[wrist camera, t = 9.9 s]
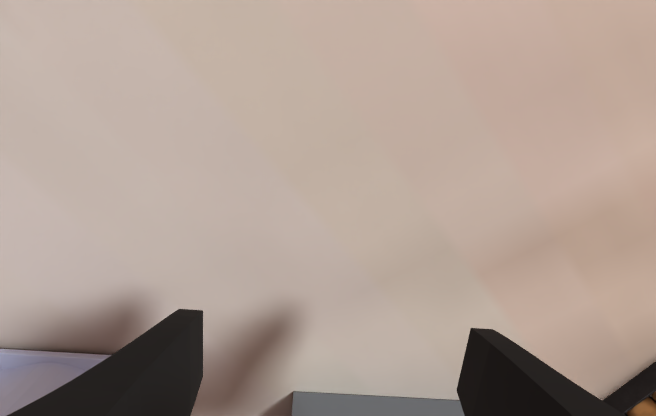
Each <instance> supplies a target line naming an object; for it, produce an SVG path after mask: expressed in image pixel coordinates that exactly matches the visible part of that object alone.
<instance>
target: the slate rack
mask: <svg viewBox="0 0 656 416" xmlns="http://www.w3.org/2000/svg"><path fill="white" fill-rule="evenodd" d="M292 416H465V415H464V412H463V409H462V406H461V403H460V401H459V400H441V399H422V398H404V397H385V396H366V395H348V394H329V393H311V392H293V404H292Z"/></svg>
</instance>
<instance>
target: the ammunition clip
mask: <svg viewBox="0 0 656 416" xmlns="http://www.w3.org/2000/svg"><path fill="white" fill-rule="evenodd" d="M603 402H605V403H607V404H608V405H610V406H611V407H613V408H615V409H616V410H618V411H619V412H621V413H623V414H624V415H626V416H656V362H654V363H653V364H652V365H650V366H649V367H648V368H646V369H645V370H644V371H642V372H641V373H640V374H638V375H637V376H635V377H634V378H633V379H631V380H630V381H629V382H627V383H626V384H625V385H623V386H622V387H621V388H619V389H618V390H617V391H615V392H614V393H613V394H611V395H610V396H608V397H607V398H606V399H604V400H603Z"/></svg>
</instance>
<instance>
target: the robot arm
mask: <svg viewBox="0 0 656 416" xmlns="http://www.w3.org/2000/svg"><path fill="white" fill-rule="evenodd" d="M202 377H203V311H201V310H186V309H179V310H177V311H175V312H174V313H172V314H171V315H169V316H168V317H167V318H165V319H164V320H162V321H161V322H159V323H158V324H157V325H155V326H154V327H152V328H151V329H150V330H148V331H147V332H145V333H144V334H142V335H141V336H139V337H138V338H137V339H135V340H134V341H132V342H131V343H129V344H128V345H126V346H125V347H123V348H122V349H120V350H119V351H118V352H116V353H115V354H113V355H100V354H83V353H66V352H48V351H31V350H14V349H0V416H190V415H191V412H192V409H193V406H194V403H195V400H196V397H197V393H198V390H199V387H200V384H201V380H202ZM457 393H458V396H459V399H460V403H461V406H462V409H463V412H464V415H465V416H626V415H624V414H623V413H621V412H619V411H618V410H616V409H615V408H613V407H611V406H610V405H608V404H607V403H605V402H603V401H602V400H600V399H598V398H597V397H595V396H594V395H592V394H590V393H589V392H587V391H586V390H584V389H583V388H581V387H580V386H578V385H577V384H575V383H574V382H572V381H571V380H569V379H568V378H566V377H565V376H563V375H562V374H560V373H559V372H557V371H556V370H554V369H553V368H551V367H550V366H548V365H547V364H545V363H544V362H542V361H541V360H539V359H538V358H536V357H535V356H534V355H532V354H531V353H529V352H528V351H526V350H525V349H523V348H522V347H520V346H519V345H517V344H516V343H514V342H513V341H511V340H510V339H508V338H506V337H505V336H503V335H502V334H500V333H498V332H496V331H495V330H493V329H477V328H471V330H470V334H469V339H468V343H467V347H466V352H465V356H464V361H463V365H462V369H461V374H460V378H459V382H458V387H457Z"/></svg>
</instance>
